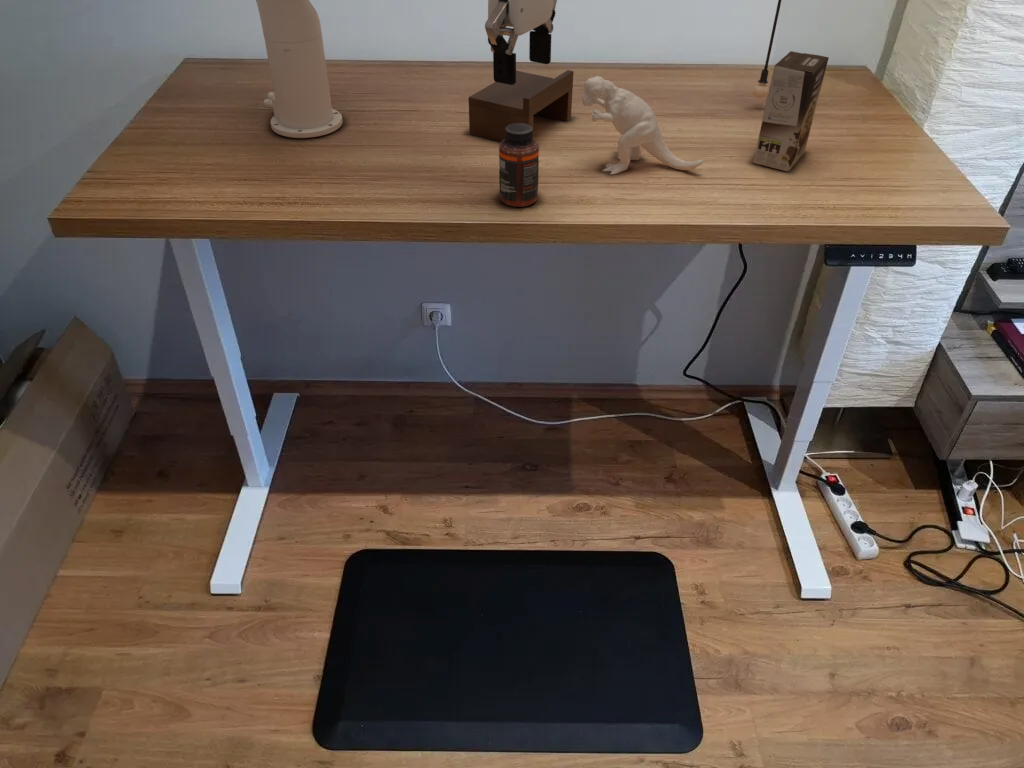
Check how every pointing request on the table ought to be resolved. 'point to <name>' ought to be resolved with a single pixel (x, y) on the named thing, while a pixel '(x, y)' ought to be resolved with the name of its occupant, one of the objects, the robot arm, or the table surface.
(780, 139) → the coffee box
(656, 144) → the dinosaur figurine
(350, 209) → the table surface
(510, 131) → the supplement bottle
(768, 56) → the light fixture
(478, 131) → the stand
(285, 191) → the table surface
